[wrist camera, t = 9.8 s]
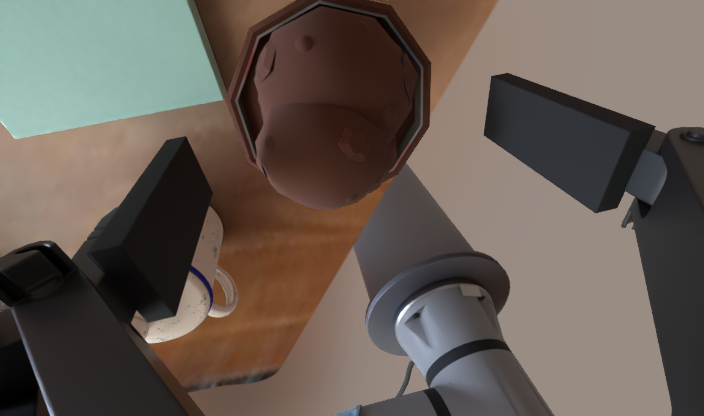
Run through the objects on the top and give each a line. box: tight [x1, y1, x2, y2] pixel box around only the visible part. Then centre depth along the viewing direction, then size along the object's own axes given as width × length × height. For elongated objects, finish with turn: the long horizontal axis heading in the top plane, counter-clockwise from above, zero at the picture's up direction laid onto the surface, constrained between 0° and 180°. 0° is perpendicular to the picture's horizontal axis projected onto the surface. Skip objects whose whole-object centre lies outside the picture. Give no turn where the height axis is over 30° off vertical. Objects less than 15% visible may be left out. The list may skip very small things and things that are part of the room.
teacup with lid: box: [131, 206, 238, 343], centre depth 25 cm, size 12×9×12 cm
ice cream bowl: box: [226, 0, 431, 209], centre depth 18 cm, size 11×11×15 cm
